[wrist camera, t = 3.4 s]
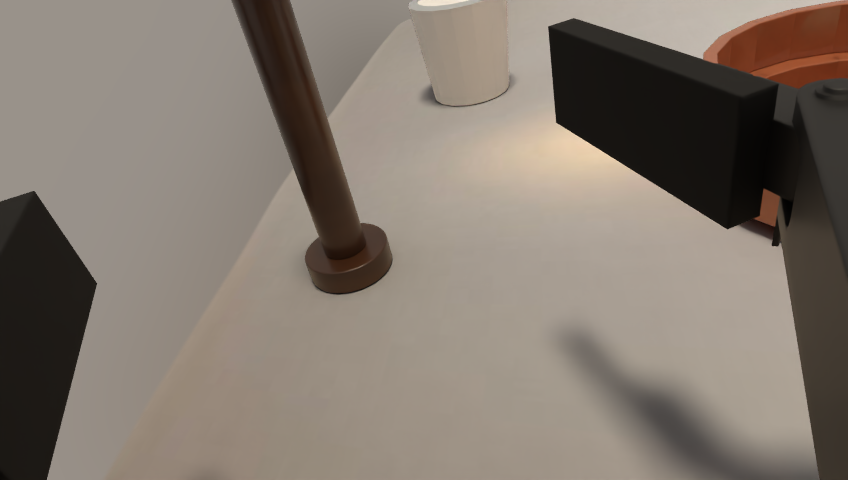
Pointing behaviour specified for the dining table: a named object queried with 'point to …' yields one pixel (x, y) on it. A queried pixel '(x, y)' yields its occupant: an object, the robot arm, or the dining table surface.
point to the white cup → (463, 48)
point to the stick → (312, 151)
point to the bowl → (788, 55)
